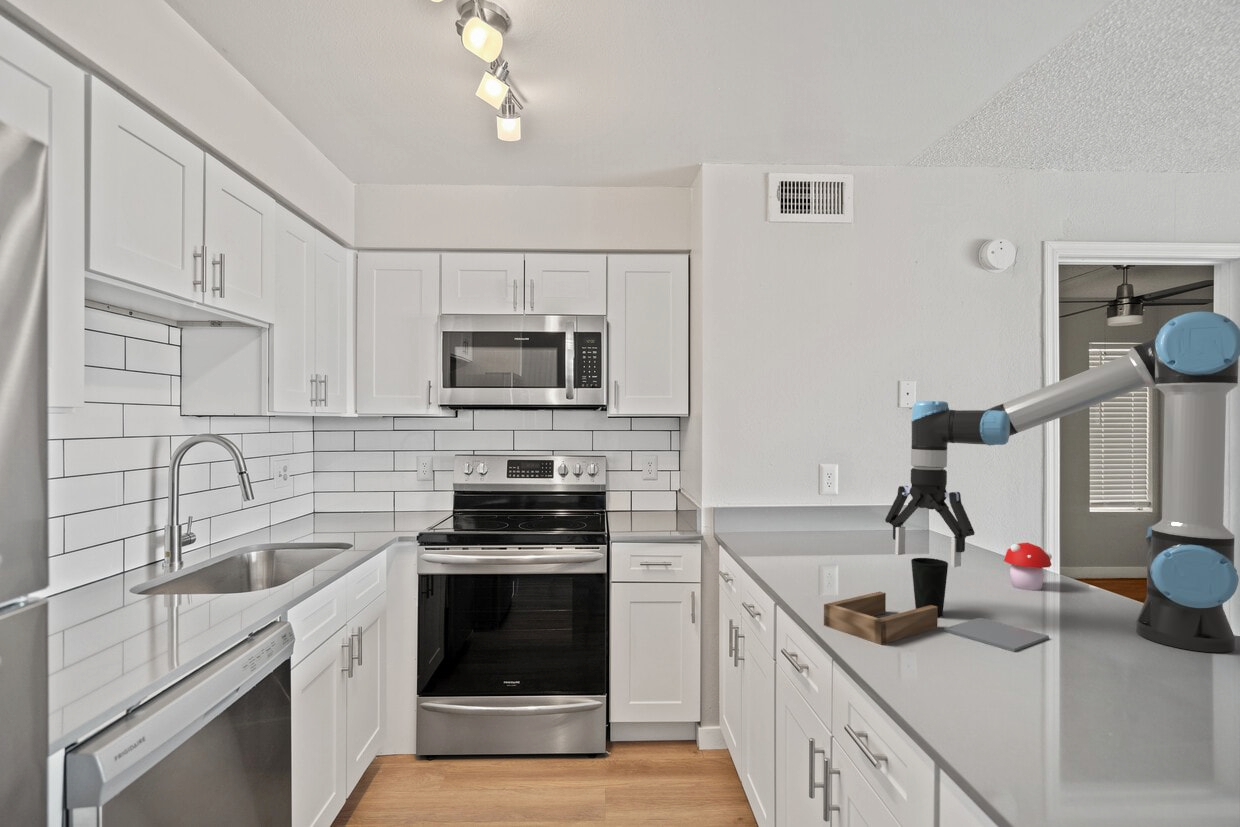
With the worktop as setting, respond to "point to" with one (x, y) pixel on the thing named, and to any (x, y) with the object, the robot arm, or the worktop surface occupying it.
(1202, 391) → the robot arm
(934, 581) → the cup
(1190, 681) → the worktop surface
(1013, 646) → the coaster
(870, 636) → the wooden frame
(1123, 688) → the worktop surface
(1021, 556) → the mushroom
